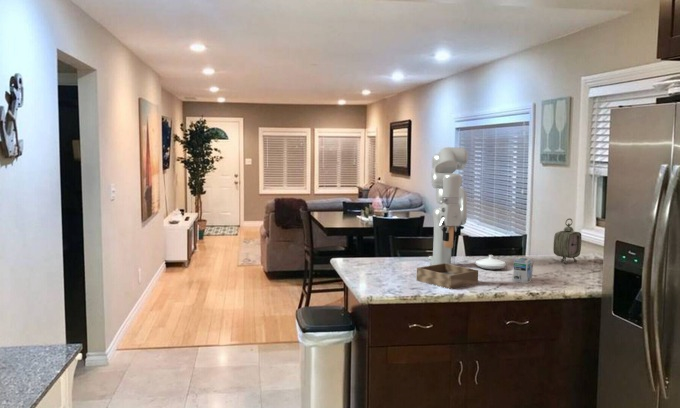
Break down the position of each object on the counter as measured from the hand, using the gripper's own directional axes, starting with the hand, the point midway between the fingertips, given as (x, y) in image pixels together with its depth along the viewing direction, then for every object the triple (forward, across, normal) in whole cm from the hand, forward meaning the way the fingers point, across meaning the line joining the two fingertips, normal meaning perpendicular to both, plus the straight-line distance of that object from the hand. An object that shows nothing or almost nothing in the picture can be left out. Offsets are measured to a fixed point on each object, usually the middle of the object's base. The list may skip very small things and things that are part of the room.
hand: (448, 240), depth 264 cm
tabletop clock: (+19, +94, -8) cm, 97 cm away
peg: (+3, 0, 0) cm, 3 cm away
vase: (+20, +44, +7) cm, 49 cm away
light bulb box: (+20, +33, -19) cm, 43 cm away
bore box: (+20, 0, 0) cm, 20 cm away
